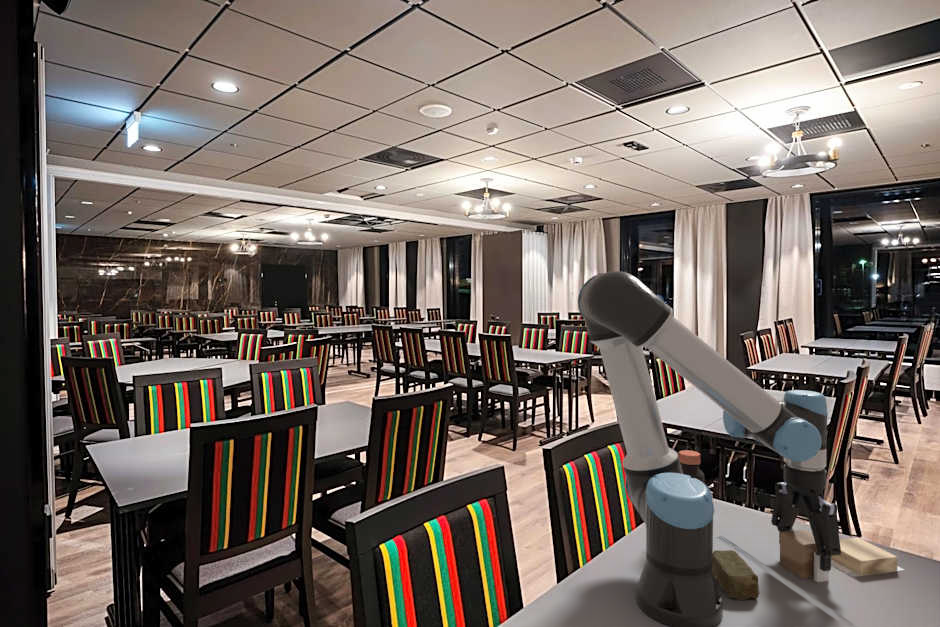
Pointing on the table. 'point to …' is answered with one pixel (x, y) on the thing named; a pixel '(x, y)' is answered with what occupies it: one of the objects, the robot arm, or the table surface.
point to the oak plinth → (865, 557)
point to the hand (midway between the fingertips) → (803, 573)
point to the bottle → (691, 464)
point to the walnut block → (798, 552)
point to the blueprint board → (851, 570)
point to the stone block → (734, 575)
